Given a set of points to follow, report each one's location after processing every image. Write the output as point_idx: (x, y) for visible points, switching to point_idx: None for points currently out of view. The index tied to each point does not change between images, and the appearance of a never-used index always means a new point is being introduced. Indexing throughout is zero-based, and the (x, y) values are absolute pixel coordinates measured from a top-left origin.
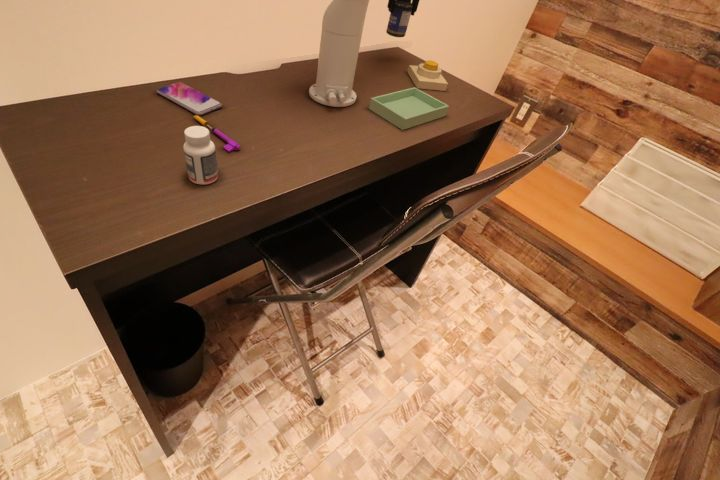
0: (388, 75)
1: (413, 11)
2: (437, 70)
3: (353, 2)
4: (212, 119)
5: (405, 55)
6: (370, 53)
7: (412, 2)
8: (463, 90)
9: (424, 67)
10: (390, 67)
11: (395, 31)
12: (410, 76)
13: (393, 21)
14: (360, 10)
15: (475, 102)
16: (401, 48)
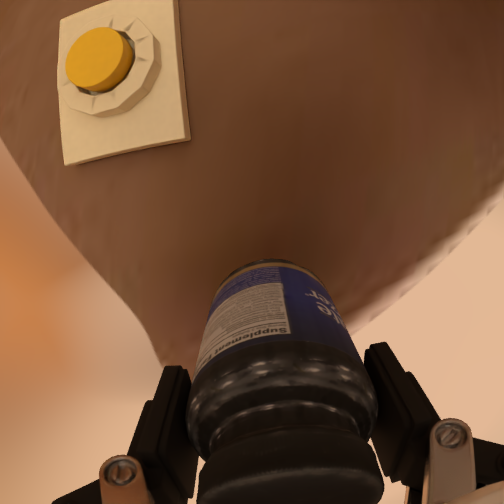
0: (286, 74)
1: (172, 382)
2: None
3: None
4: None
5: (183, 346)
6: (339, 310)
7: (191, 467)
8: (14, 74)
9: (129, 47)
10: (267, 172)
11: (291, 268)
12: (184, 86)
13: (329, 306)
14: None
15: (14, 9)
16: None
